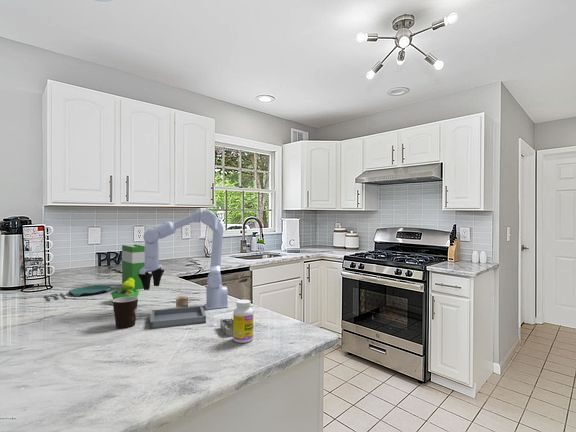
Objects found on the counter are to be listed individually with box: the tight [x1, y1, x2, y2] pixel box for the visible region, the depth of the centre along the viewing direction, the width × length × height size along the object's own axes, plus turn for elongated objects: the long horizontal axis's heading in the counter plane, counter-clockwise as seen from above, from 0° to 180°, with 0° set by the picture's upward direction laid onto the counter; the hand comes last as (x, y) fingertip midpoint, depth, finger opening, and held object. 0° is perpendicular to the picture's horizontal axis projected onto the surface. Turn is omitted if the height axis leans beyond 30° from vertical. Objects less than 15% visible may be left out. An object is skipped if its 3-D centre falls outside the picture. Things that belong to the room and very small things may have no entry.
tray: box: [149, 305, 207, 330], centre depth 131 cm, size 20×16×2 cm
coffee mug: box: [112, 297, 139, 330], centre depth 124 cm, size 12×9×10 cm
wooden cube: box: [175, 295, 189, 308], centre depth 146 cm, size 5×5×5 cm
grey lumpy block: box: [219, 318, 233, 337], centre depth 118 cm, size 11×8×4 cm
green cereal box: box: [121, 244, 145, 291], centre depth 191 cm, size 18×7×24 cm, turn 43°
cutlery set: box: [43, 284, 112, 302], centre depth 174 cm, size 20×30×2 cm, turn 132°
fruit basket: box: [110, 278, 140, 301], centre depth 158 cm, size 11×9×11 cm
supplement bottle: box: [232, 299, 254, 344], centre depth 109 cm, size 7×7×13 cm
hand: (151, 287), depth 143 cm, fingers open, 7 cm apart
